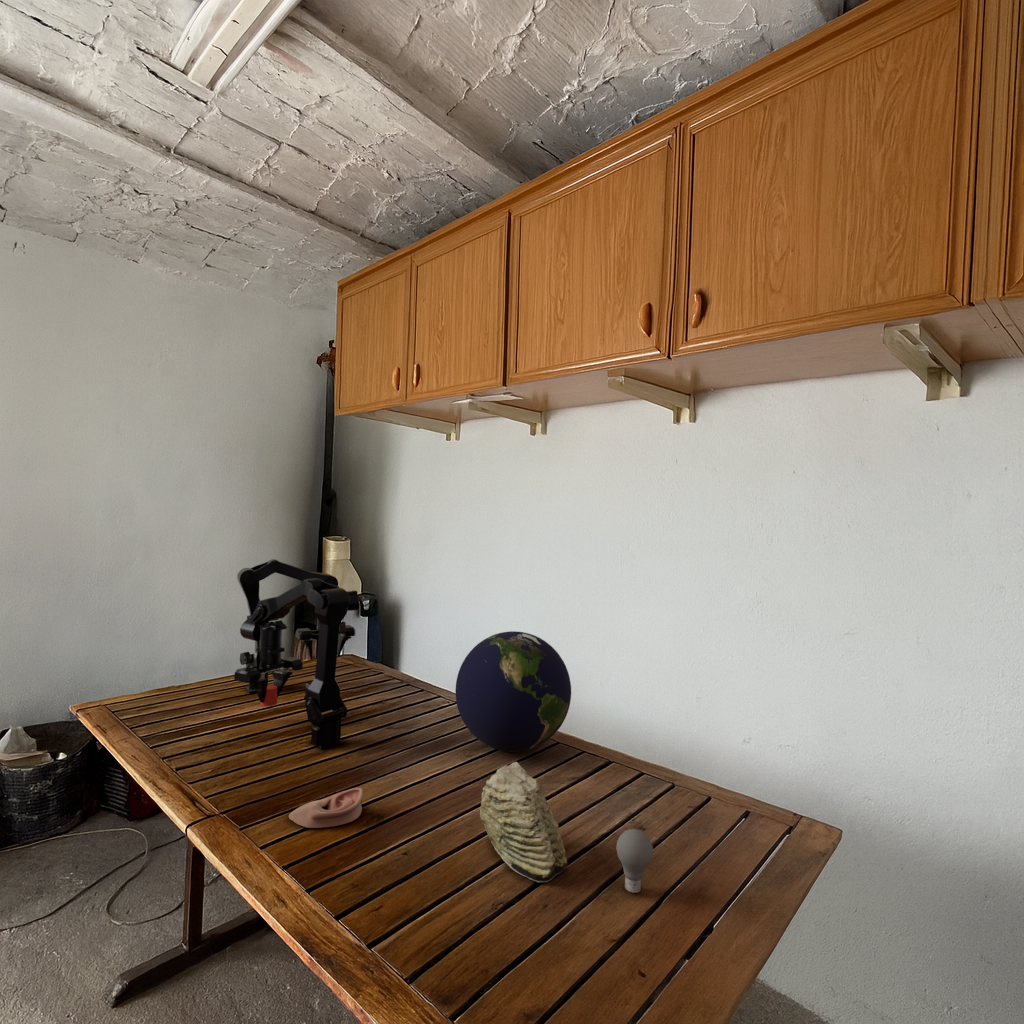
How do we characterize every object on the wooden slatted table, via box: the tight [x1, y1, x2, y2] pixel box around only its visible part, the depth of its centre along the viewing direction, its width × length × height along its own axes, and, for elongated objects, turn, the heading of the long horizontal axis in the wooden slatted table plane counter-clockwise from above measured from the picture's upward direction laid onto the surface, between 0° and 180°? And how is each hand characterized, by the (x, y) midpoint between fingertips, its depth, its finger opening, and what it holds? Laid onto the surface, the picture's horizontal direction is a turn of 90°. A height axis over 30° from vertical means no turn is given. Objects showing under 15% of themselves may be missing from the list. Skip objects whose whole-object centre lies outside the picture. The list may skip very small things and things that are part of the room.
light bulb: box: [615, 828, 654, 894], centre depth 106 cm, size 6×6×10 cm
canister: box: [260, 684, 278, 707], centre depth 176 cm, size 4×4×4 cm
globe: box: [454, 630, 572, 753], centre depth 164 cm, size 30×30×30 cm
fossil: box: [479, 761, 569, 883], centre depth 114 cm, size 9×18×15 cm, turn 46°
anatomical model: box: [288, 787, 364, 829], centre depth 126 cm, size 13×4×12 cm
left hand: (325, 657), depth 214 cm, fingers open, 9 cm apart
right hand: (268, 700), depth 176 cm, fingers closed on canister, 4 cm apart
